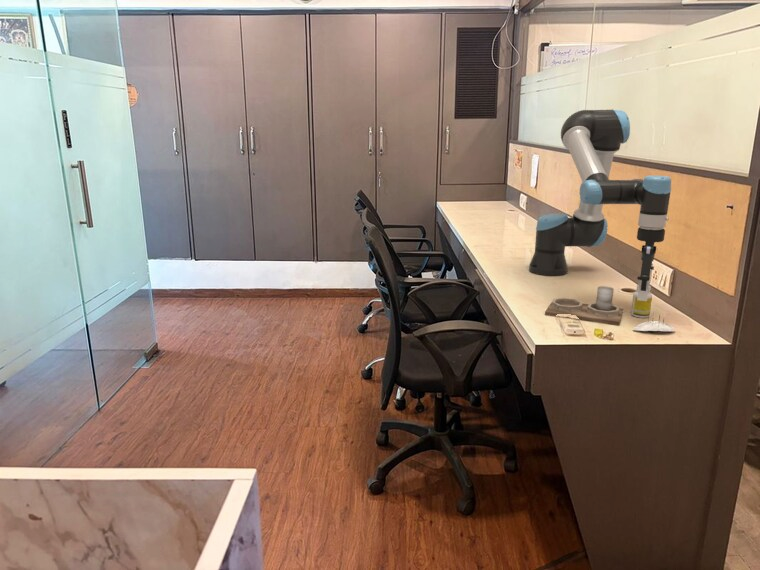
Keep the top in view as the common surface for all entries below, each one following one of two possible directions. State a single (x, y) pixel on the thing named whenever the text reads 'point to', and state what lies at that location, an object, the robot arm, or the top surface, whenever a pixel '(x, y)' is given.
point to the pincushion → (654, 326)
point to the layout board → (586, 315)
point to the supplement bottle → (641, 305)
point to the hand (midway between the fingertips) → (643, 294)
